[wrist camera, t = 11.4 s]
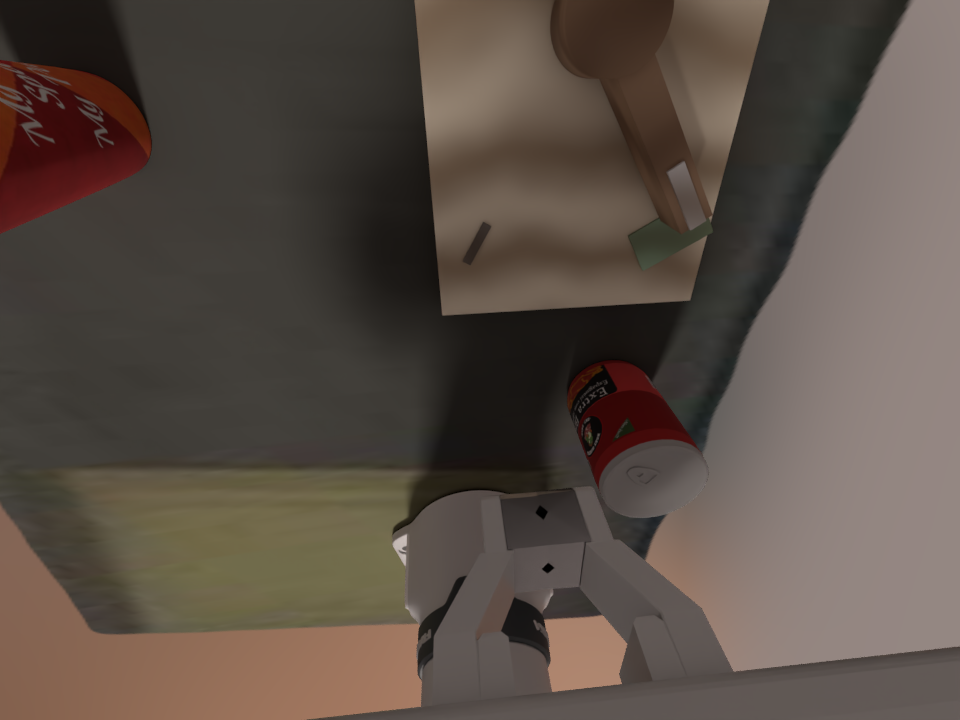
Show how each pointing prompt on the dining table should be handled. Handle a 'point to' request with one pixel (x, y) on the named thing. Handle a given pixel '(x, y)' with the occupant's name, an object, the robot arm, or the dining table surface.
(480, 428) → the dining table surface
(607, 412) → the canned food
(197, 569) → the dining table surface
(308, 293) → the dining table surface
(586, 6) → the wooden spoon
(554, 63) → the cream flat square slab
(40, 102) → the paper cup
